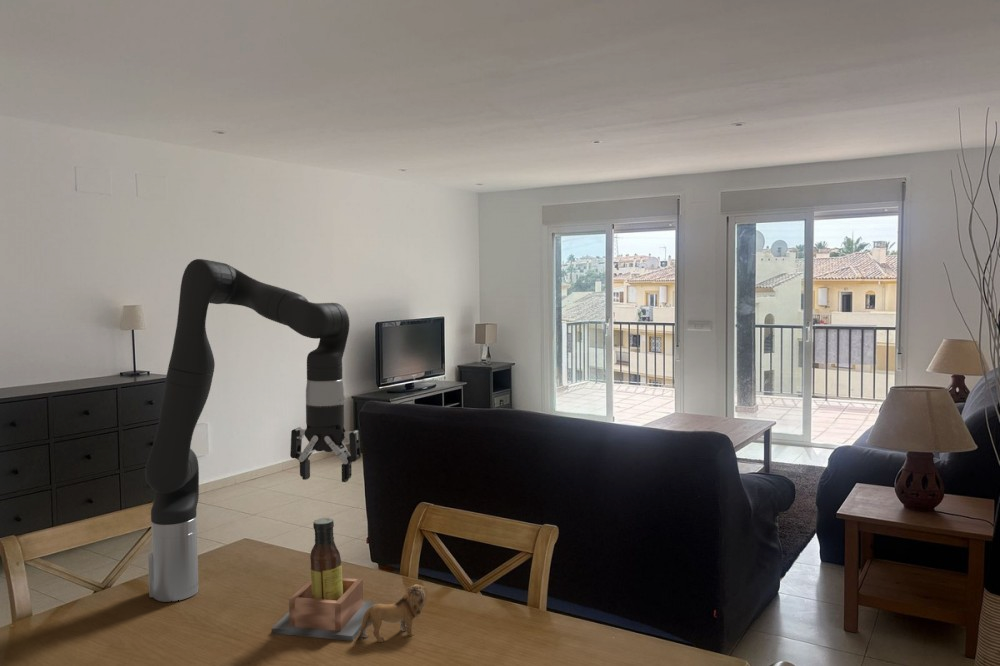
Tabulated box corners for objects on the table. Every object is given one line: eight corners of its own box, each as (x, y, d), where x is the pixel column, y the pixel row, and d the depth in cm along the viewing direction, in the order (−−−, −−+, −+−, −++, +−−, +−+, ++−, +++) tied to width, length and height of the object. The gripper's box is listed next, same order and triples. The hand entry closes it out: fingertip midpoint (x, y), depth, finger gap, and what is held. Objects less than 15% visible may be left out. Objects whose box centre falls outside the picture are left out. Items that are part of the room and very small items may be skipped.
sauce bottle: (347, 608, 152) (346, 516, 151) (338, 622, 146) (336, 525, 145) (317, 607, 153) (315, 515, 151) (306, 620, 146) (304, 524, 145)
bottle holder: (271, 633, 143) (271, 601, 143) (305, 600, 158) (304, 571, 158) (352, 641, 140) (352, 608, 140) (379, 607, 155) (378, 577, 155)
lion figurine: (420, 621, 149) (419, 578, 148) (431, 631, 144) (431, 588, 144) (351, 638, 141) (351, 594, 141) (360, 650, 137) (360, 604, 136)
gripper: (283, 403, 144) (284, 483, 145) (351, 405, 141) (351, 487, 142) (300, 397, 151) (301, 473, 152) (365, 399, 148) (365, 477, 149)
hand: (325, 480), depth 147 cm, fingers open, 8 cm apart
